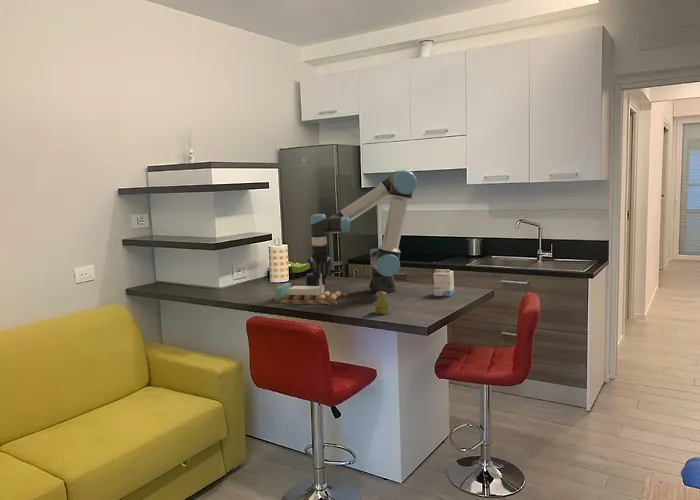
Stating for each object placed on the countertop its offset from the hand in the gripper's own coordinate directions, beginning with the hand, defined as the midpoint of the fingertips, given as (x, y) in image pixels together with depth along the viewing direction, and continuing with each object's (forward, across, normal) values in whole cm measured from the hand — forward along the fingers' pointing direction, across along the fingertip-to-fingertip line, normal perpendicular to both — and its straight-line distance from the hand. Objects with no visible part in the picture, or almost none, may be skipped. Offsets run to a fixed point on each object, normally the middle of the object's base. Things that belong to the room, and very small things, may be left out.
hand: (321, 291), depth 281 cm
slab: (+1, +9, 0) cm, 9 cm away
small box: (+5, +11, -18) cm, 22 cm away
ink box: (+5, -59, -19) cm, 62 cm away
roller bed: (+5, +6, 0) cm, 7 cm away
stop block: (+5, +21, 0) cm, 22 cm away
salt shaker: (+5, -36, +22) cm, 43 cm away
